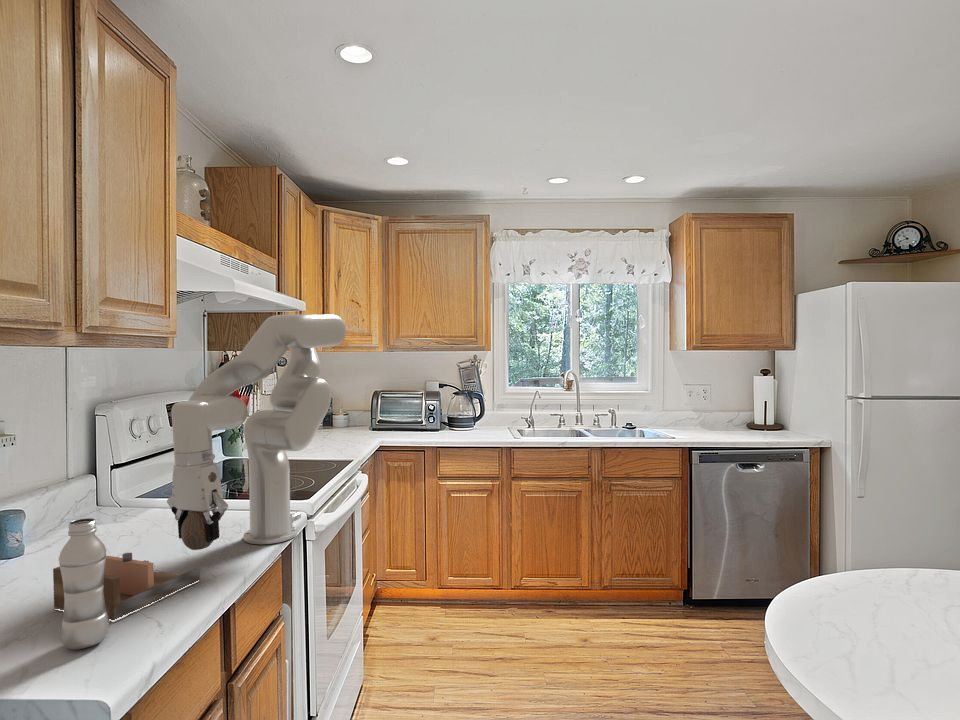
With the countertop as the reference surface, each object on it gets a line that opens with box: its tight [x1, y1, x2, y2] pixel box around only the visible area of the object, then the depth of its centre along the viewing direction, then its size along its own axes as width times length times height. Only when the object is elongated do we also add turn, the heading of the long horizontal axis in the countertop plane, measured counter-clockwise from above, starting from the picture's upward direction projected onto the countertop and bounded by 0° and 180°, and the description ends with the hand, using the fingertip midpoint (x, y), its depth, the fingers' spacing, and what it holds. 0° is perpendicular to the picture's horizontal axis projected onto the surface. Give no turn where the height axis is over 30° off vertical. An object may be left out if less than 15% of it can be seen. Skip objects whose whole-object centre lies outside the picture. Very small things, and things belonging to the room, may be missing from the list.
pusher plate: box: [104, 552, 154, 596], centre depth 115 cm, size 2×12×8 cm, turn 70°
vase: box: [181, 511, 214, 551], centre depth 131 cm, size 7×7×9 cm
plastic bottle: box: [58, 517, 110, 650], centre depth 97 cm, size 6×7×20 cm
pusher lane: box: [52, 560, 201, 620], centre depth 116 cm, size 19×15×8 cm
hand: (199, 537), depth 131 cm, fingers closed on vase, 6 cm apart
